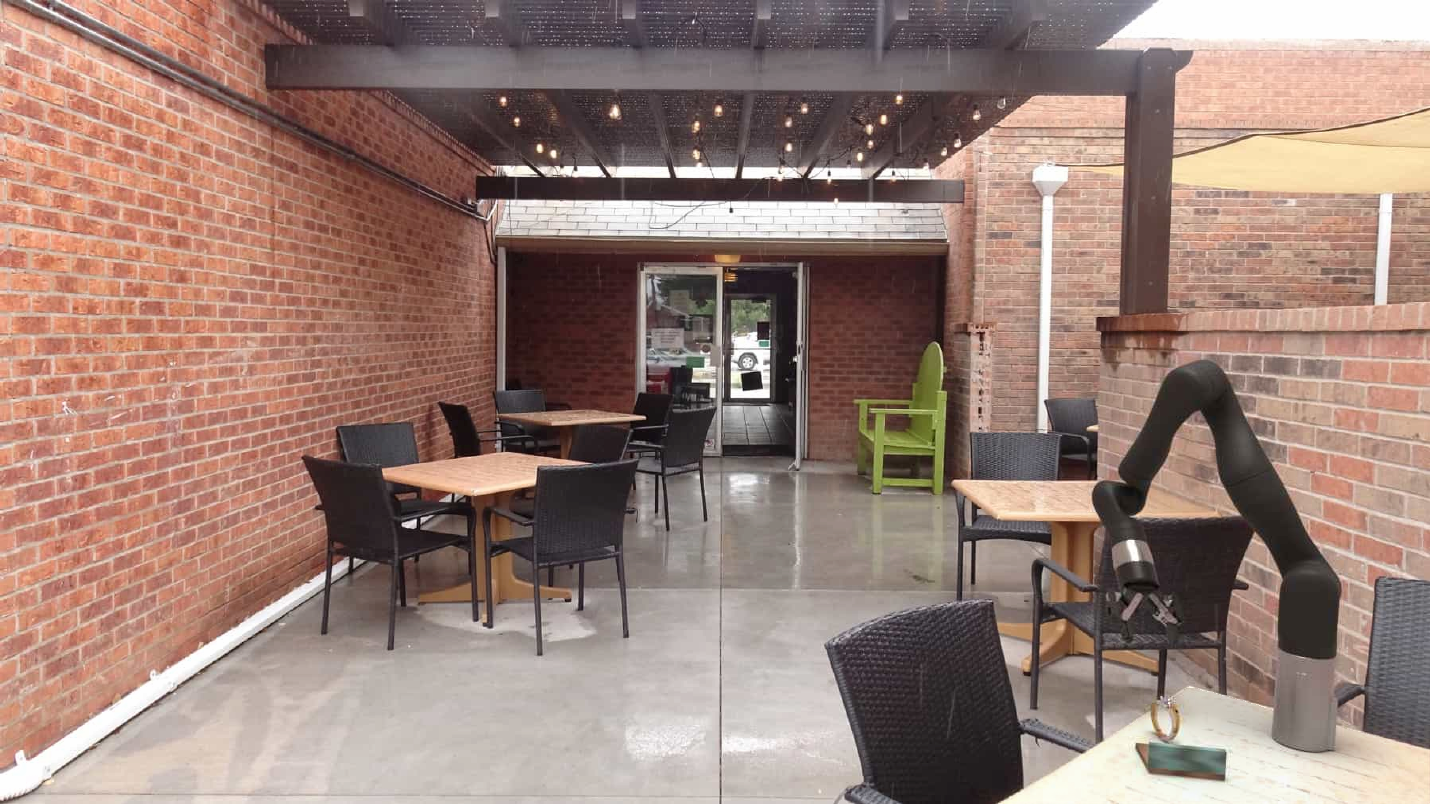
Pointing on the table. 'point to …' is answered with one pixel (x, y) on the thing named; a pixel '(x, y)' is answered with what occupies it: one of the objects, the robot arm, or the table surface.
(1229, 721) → the table surface
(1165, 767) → the desk nameplate
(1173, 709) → the gold diamond ring
